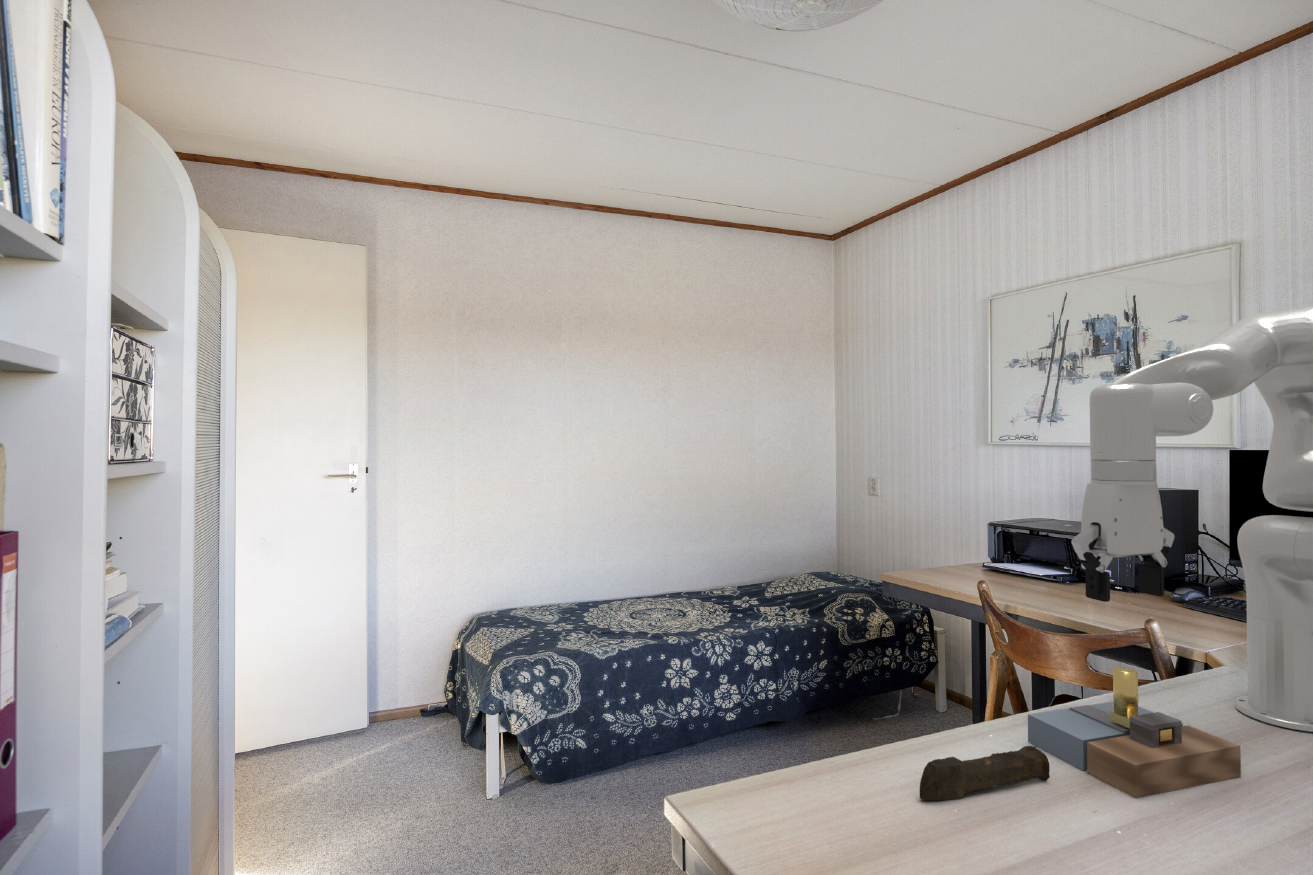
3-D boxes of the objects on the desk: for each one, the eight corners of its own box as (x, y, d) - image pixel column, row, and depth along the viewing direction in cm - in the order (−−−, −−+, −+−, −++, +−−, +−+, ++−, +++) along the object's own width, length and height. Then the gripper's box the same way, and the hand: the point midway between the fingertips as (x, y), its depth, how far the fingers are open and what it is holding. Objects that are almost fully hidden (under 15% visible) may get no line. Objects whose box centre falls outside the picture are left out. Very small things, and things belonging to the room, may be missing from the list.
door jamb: (1187, 754, 94) (1187, 704, 94) (1240, 776, 87) (1240, 723, 87) (1087, 772, 88) (1086, 719, 89) (1135, 797, 82) (1135, 741, 82)
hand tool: (1026, 770, 90) (1025, 735, 90) (1052, 784, 86) (1051, 748, 86) (905, 792, 84) (905, 755, 84) (927, 808, 80) (926, 769, 81)
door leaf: (1122, 726, 103) (1122, 698, 103) (1183, 752, 94) (1183, 721, 94) (1028, 741, 98) (1027, 711, 98) (1083, 770, 89) (1082, 737, 89)
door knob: (1123, 718, 95) (1122, 665, 95) (1174, 739, 88) (1173, 682, 88) (1108, 720, 94) (1107, 667, 94) (1158, 741, 87) (1157, 684, 87)
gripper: (1143, 470, 99) (1145, 586, 99) (1050, 473, 94) (1052, 595, 94) (1197, 472, 92) (1199, 598, 92) (1099, 476, 87) (1101, 608, 87)
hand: (1124, 596), depth 93 cm, fingers open, 9 cm apart
